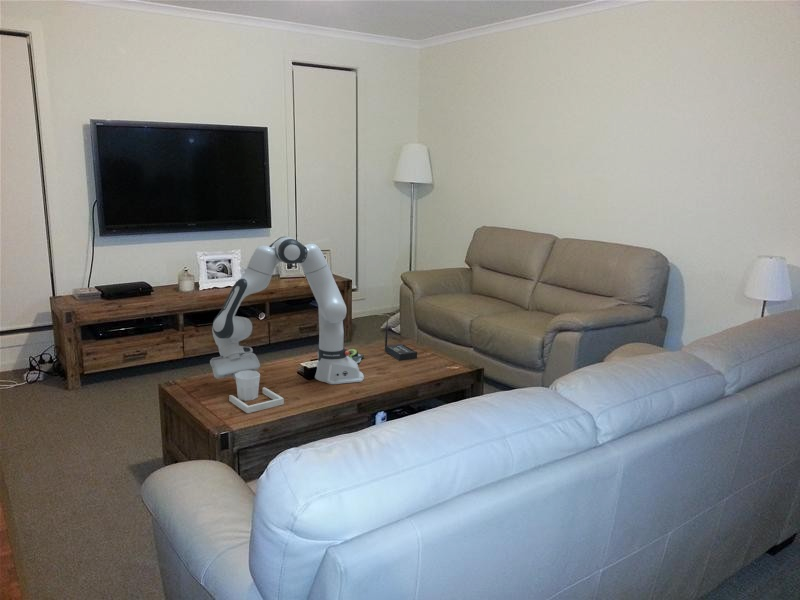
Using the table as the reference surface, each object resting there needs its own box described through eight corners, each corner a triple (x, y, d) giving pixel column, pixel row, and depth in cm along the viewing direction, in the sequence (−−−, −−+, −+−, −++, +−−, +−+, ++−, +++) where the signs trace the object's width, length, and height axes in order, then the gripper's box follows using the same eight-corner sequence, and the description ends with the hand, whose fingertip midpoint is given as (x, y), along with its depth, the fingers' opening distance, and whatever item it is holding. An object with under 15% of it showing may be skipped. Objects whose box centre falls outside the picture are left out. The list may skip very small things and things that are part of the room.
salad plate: (362, 369, 301) (362, 360, 300) (325, 367, 301) (325, 358, 300) (364, 356, 320) (365, 348, 318) (330, 354, 320) (330, 346, 319)
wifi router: (419, 358, 321) (421, 327, 317) (396, 361, 314) (398, 329, 310) (400, 347, 338) (402, 317, 334) (378, 350, 331) (379, 319, 327)
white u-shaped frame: (229, 401, 253) (229, 395, 253) (265, 392, 264) (265, 387, 263) (247, 413, 242) (247, 407, 242) (283, 404, 253) (283, 398, 252)
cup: (261, 400, 255) (261, 378, 253) (236, 402, 252) (236, 379, 249) (258, 391, 264) (258, 369, 262) (234, 393, 261) (234, 371, 259)
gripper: (210, 355, 257) (221, 384, 252) (255, 347, 270) (266, 374, 265) (206, 362, 261) (216, 391, 256) (250, 354, 274) (261, 381, 269)
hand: (242, 382), depth 261 cm, fingers closed, pressing on cup
